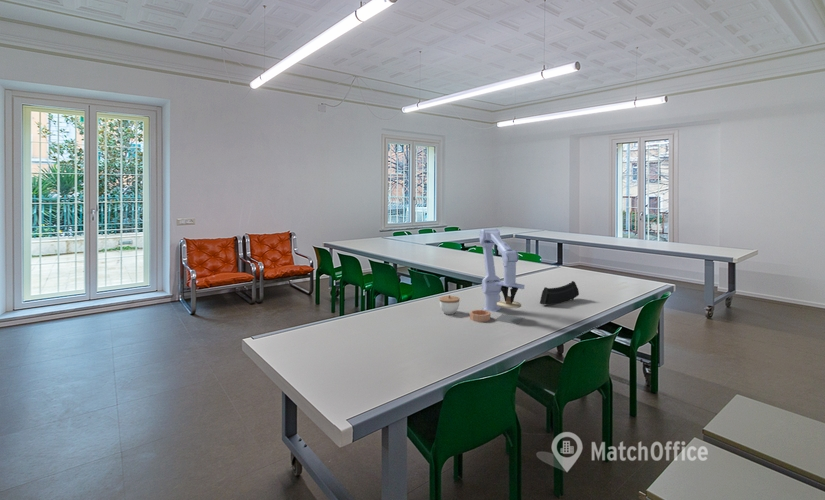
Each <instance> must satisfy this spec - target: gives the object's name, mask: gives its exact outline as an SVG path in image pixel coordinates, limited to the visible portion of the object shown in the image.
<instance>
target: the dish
mask: <svg viewBox="0 0 825 500" xmlns="http://www.w3.org/2000/svg"><path fill="white" fill-rule="evenodd" d="M469 319H470V321H473V322H477V323H479V322H480V323H482V322H483V323H485V322H489V321H491V311H488V310H482V309H474V310H470V311H469Z"/></svg>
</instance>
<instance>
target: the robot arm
mask: <svg viewBox="0 0 825 500" xmlns="http://www.w3.org/2000/svg"><path fill="white" fill-rule="evenodd" d="M478 236H479V237H478V238H479V244H480V246H482V250H483V251H482V252H483V259H484V268H485V277H484V278H482V280H481V291H482V292H483V293H484V307H483V308H482V309H481V310H486V311H489V312H494V313H495V312H497V311H499V310H501V309H503V307H499V306H497V302H499V301H501V295H500V294H501V293H502V295H503V299H504V301H505V302H506V297H507V296H509V290H510V296H511V302H513V301H515V297H516V294H517V292H518V290H519V289H520V290H525V284H522V283H517V282H516V280H517V278H516V276H517V274H516V273H517V262H518V261H519V257H520V255H519V252H518V250H514V249H512V248H511V246H510V245H509V244H508V242H506V241H504V240H503V239H502V238H501V232H500V229H498V228H488V229H486V228H481V229H480V231H479V234H478ZM495 245H496V246H497V248H496V249H497V251H498V252H499V254H500V255H501V259H502V265H503V281H501V278H500V277H498V276H497V274H496V268H495V261H494V259H495V258H494V251H493V246H495Z"/></svg>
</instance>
